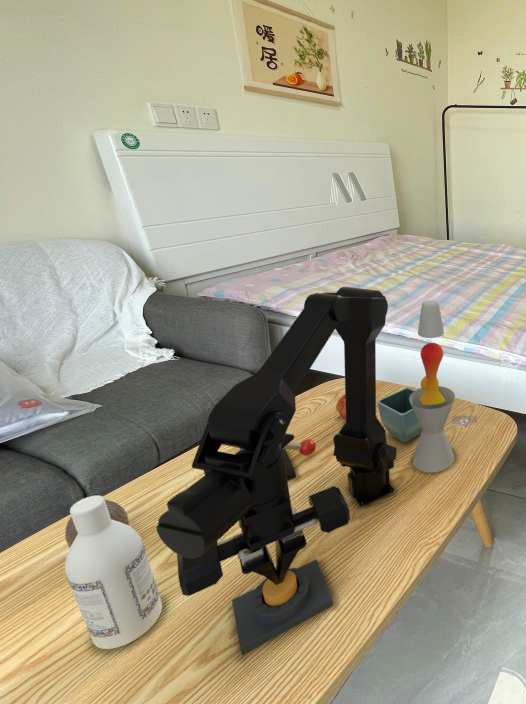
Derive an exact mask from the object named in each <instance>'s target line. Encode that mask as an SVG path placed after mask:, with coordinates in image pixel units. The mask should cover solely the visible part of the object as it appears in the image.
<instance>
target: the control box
mask: <svg viewBox="0 0 526 704" xmlns="http://www.w3.org/2000/svg"><path fill="white" fill-rule="evenodd" d="M288 571H292V572H293V573H294V574H295V576H296V581H297V591H296V593H295V595H294V596H293V597H292V598H291V599H290V600H289V601H287V602H286V603H284V604H282V605H279V606H270V605H268V604H266V602H265V600H264V595H263V586H264V584H265V582H266V581H267V578H266V577H265V578H264V579H263V580H262V581H261V582H260V583H259V584H257V586H256V588H253V589H251V590H249V591H247V592H245V593H243V594H241V595H239V596H236V597H234V598H232V599H231V603H232V609H233V614H234V620H235V627H236V631H237V638H238V643H239V649H240V653H241V656H244V655H246V654H248V653H249V652H251V651H253V650H255V649H257V648H259V647H261V646H263V645H264V644H266V643H267V642H268V643H269V642H270V641H271V640H273V639H275V638H277V637H279V636H280V635H282V634H285V633H286V632H287V631H289V630H291V629H293V628H295V627H296V626H299V625H301V624H302V623H304V622H306V621H307V620H310V619H311V618H313V617H314V616H315V617H316V616H317V615H318V614H320V613H322V612H323V611H326V610H327V609H329V608H331V607H333V606H334V601H333V596H332V594H331V592H330V589H329V587H328V583H327V582H326V581H327V580H326V579H325V575H324V574H323V572H322V568H321V566H320V564H319V561H318V559H317V558H316V559H314V560H311V561H309V562H307V563H305V564H303V565H301V566H299V567H289V569H288Z"/></svg>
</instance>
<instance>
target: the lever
mask: <svg viewBox="0 0 526 704" xmlns="http://www.w3.org/2000/svg"><path fill="white" fill-rule="evenodd" d="M316 448H317V444H316V442H315V441H314V440H312V439H308V438H307V439H304V440H302V441H301V442H299V443H298V442H290V443H289V444H287V445H286V446H285V447H284V448H283V449H286V451H298V453H299V454H301V455H302V456H306V457H307V456H311V455H312V454H313V453H315V452H316Z"/></svg>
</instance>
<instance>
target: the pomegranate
mask: <svg viewBox="0 0 526 704" xmlns="http://www.w3.org/2000/svg"><path fill="white" fill-rule="evenodd" d="M335 409H336V411H337V412H338V413H339V416H338V417H337V419H340V418H341V419H343V420H345V421H346V400H345V394H343V395H342V396H340V398H339V399H338V400H337V402H336V405H335Z"/></svg>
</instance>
